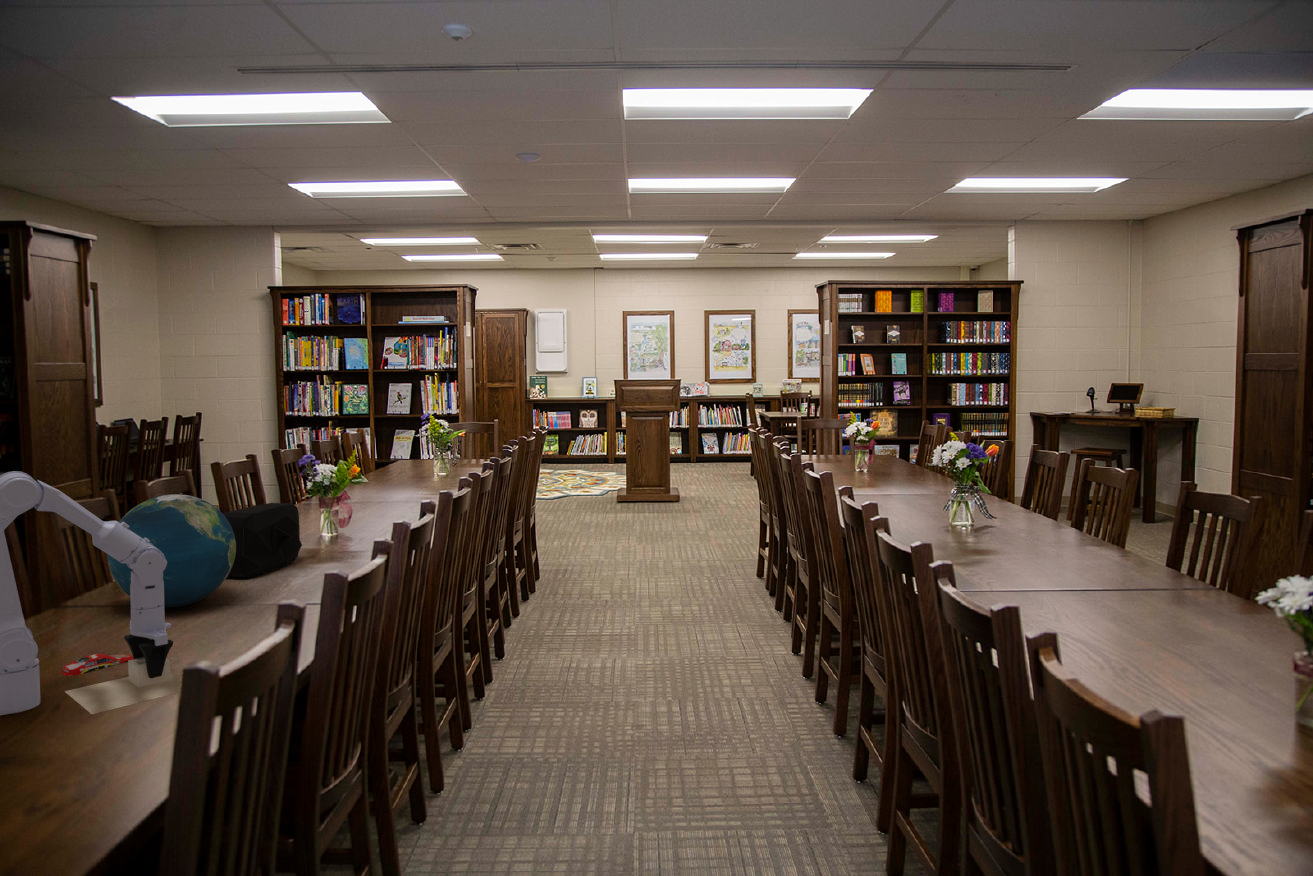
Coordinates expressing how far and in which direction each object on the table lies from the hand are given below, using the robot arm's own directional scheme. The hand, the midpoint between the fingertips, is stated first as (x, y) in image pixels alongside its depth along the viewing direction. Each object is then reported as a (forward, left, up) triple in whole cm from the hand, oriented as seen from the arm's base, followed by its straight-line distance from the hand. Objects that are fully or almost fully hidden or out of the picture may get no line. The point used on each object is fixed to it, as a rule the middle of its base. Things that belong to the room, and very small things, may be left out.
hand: (149, 672), depth 168 cm
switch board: (-4, -3, -3) cm, 6 cm away
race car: (-4, +16, -3) cm, 17 cm away
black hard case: (+61, +83, -3) cm, 103 cm away
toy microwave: (0, 0, -2) cm, 2 cm away
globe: (+26, +59, -3) cm, 65 cm away
